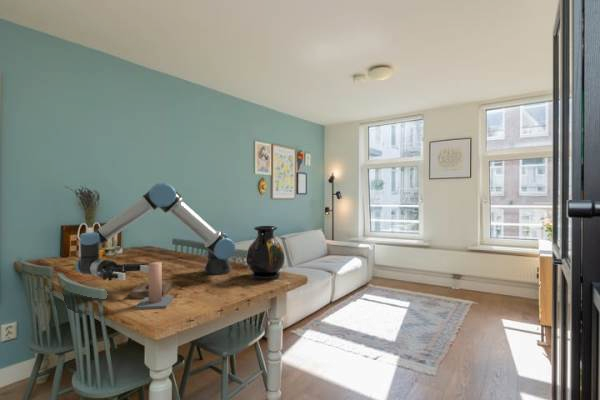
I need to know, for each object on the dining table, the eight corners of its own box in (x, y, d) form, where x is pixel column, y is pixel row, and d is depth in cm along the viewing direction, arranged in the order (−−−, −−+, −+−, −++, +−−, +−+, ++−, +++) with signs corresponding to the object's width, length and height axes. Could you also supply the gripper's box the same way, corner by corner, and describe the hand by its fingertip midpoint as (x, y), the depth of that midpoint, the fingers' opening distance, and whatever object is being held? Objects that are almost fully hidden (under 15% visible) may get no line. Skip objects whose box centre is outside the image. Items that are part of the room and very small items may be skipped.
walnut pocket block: (171, 288, 155) (171, 282, 155) (163, 297, 141) (163, 290, 141) (141, 289, 153) (141, 283, 153) (130, 298, 140) (130, 291, 139)
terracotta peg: (163, 299, 136) (163, 262, 136) (159, 303, 131) (159, 264, 131) (150, 299, 135) (150, 262, 135) (146, 303, 130) (146, 264, 130)
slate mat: (173, 298, 140) (173, 296, 140) (166, 308, 128) (166, 305, 128) (145, 299, 138) (145, 297, 138) (134, 309, 127) (134, 307, 127)
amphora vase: (279, 283, 165) (279, 229, 164) (240, 281, 168) (240, 228, 168) (288, 273, 186) (288, 225, 185) (253, 271, 190) (253, 224, 189)
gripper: (128, 270, 156) (161, 274, 148) (76, 283, 133) (111, 289, 125) (128, 255, 156) (161, 258, 148) (76, 265, 133) (111, 270, 125)
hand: (138, 272), depth 137 cm, fingers open, 13 cm apart
